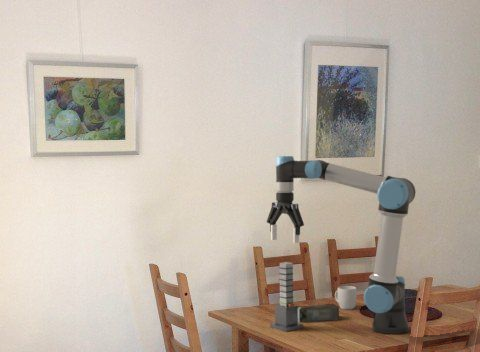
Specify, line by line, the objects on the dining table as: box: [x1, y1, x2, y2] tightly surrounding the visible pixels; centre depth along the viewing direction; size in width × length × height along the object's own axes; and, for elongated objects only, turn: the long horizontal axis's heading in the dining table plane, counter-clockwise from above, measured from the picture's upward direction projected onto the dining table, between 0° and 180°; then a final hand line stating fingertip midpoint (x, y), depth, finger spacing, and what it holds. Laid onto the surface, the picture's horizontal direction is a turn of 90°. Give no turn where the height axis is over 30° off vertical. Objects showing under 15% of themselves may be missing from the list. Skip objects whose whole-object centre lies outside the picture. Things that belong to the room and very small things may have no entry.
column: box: [278, 261, 294, 307], centre depth 307 cm, size 4×4×20 cm
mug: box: [334, 285, 358, 310], centre depth 346 cm, size 13×9×10 cm
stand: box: [269, 302, 304, 332], centre depth 308 cm, size 10×10×11 cm
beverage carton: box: [297, 303, 340, 323], centre depth 323 cm, size 8×19×7 cm, turn 103°
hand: (284, 241), depth 309 cm, fingers open, 13 cm apart
